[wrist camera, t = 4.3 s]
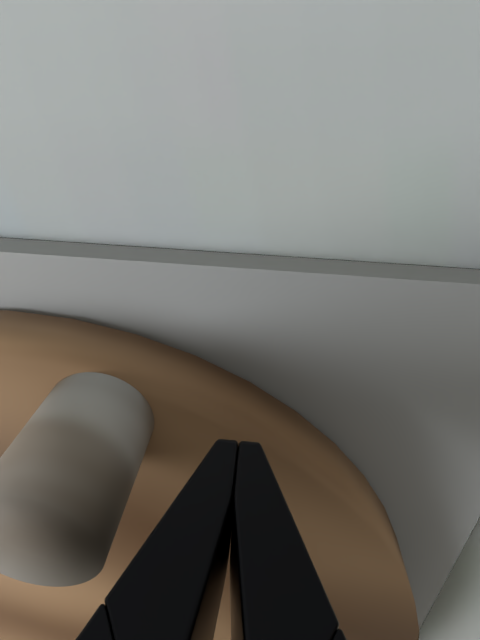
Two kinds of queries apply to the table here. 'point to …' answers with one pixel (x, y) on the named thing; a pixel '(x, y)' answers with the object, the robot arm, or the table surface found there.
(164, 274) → the base plate
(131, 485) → the round wooden board
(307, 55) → the table surface
